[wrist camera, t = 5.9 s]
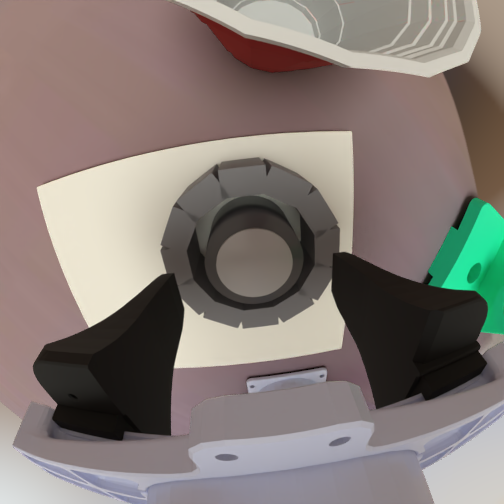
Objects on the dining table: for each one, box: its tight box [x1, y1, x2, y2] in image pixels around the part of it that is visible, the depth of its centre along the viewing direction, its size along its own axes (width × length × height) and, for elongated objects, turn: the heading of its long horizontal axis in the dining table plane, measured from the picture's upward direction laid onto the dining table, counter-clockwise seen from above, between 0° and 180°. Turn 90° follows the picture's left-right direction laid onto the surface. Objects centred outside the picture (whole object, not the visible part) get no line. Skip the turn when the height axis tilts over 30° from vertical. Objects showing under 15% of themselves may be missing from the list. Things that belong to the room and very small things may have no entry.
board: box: [37, 131, 354, 368], centre depth 17 cm, size 18×22×4 cm
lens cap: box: [205, 195, 303, 304], centre depth 15 cm, size 5×5×4 cm
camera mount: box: [428, 198, 504, 334], centre depth 16 cm, size 12×8×10 cm, turn 160°
